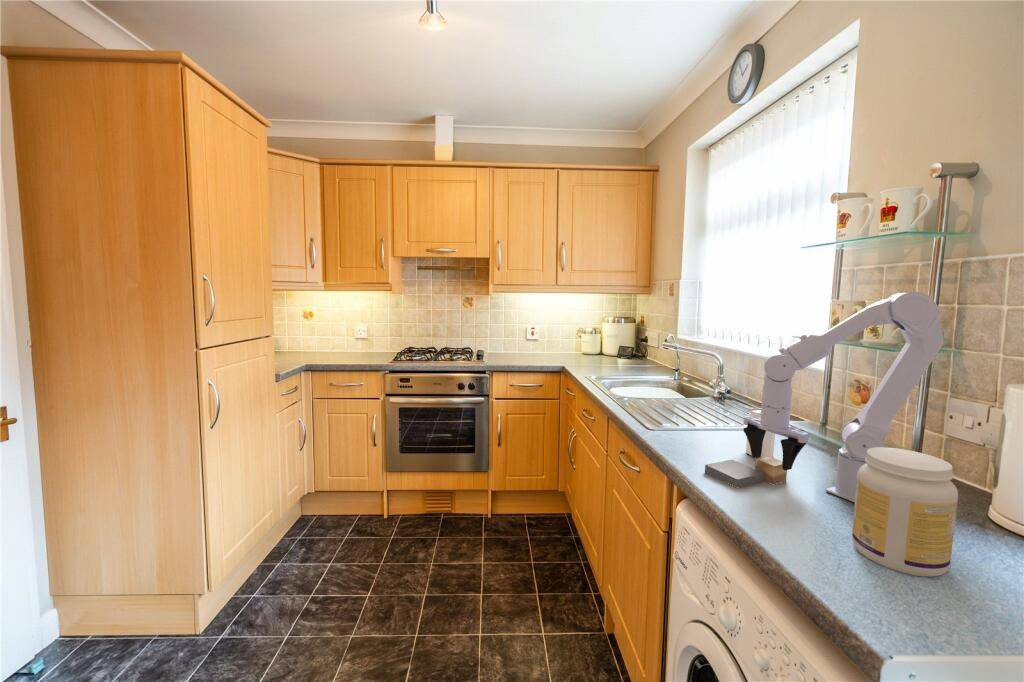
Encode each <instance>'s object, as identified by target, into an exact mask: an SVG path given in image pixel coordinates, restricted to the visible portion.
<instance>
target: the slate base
mask: <svg viewBox="0 0 1024 682" xmlns="http://www.w3.org/2000/svg"><path fill="white" fill-rule="evenodd" d="M704 473H705V474H706V473H707V474H706V475H708V474H709V476H711V477H712V478H715V479H717V478H718V479H717V480H719V479H720V480H719V481H721V480H722V481H721V482H723V481H724V482H723V483H725V482H726V483H725V484H727V483H729V484H728V485H730V484H731V485H730V486H732V485H733V486H732V487H734V486H735V487H734V488H736V487H739V488H742V487H743V486H744V487H747V485H748V486H752V485H756V483H757V484H761V483H766V482H765V475H766V473H764V472H761V471H759V470H756V468H755V467H751V466H749V465H746V464H744V463H742V462H739V461H737V460H734V459H729V460H723V461H717V462H713V463H707V464H705V465H704Z"/></svg>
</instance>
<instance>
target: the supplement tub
mask: <svg viewBox="0 0 1024 682" xmlns="http://www.w3.org/2000/svg"><path fill="white" fill-rule="evenodd" d="M865 462H866V463H867V464H865V465H863V466H861V467H860V469H859V470H858V474H857V486H856V497H855V503H854V510H853V511H854V513H853V520H852V521H853V522H852V533H851V537H852V538H851V539H852V543H853V545H854V546H855V548H856V550H858V551H859V553H861V554H862V556H864V557H866V558H867V559H869V560H871V561H872V562H874V563H876V564H878V565H881V566H883V567H885V568H888V569H891V570H894V571H896V572H899V573H902V574H907V575H912V576H915V577H916V576H917V577H928V578H929V577H938V576H942V575H945V574H946V573H947V572H948V571H949V568H950V566H951V563H952V562H951V560H952V559H951V558H952V551H953V543H954V535H955V534H954V533H955V528H956V526H955V525H956V516H957V509H958V500H959V491H958V489H957V487H956V486H955V484H954V482H952V481H951V480H953V479H954V474H953V471H954V470H953V468H954V467H953V465H952V464H951V463H950V462H948V461H946V460H945V459H944V460H943V459H941V458H939V457H937V456H933V455H931V454H926V453H923V452H918V451H914V450H909V449H903V448H897V447H896V448H895V447H887V446H884V447H875V448H870V449H868V450H867V454H866V457H865Z"/></svg>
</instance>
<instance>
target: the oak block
mask: <svg viewBox="0 0 1024 682" xmlns="http://www.w3.org/2000/svg"><path fill="white" fill-rule="evenodd" d="M782 461H783V460H780V459H777V458H775V457H770V456H769V457H764V458H755V469H756V470H759V471H761V472H764V473H766V475H765V481H766V482H765V483H768V484H770V483H771V485H772V484H774V485H776V483H778V484H781V482H782V483H786V482H787V476H788V474H787V473H788V470H783V468H782ZM785 481H786V482H785Z"/></svg>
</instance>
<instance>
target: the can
mask: <svg viewBox="0 0 1024 682" xmlns="http://www.w3.org/2000/svg"><path fill="white" fill-rule="evenodd" d="M748 416H751V417H755V418H760V419H761V408H751V409H750V413H748ZM775 438H776V434H775V433H772V432H769V431H766V433H765V436H764V439H763V444H762V453H761V457H758V458H757V459H759V458H764V457H769V456H770V457H772V458H774V452H775V442H776V441H775V440H776V439H775ZM745 446H746V447H745V452H746V453H748V454H749V456H750V455H751V456H750V457H752V453H751V448H750V444H749V441H748V438H747V437H746V444H745ZM748 454H747V455H748Z"/></svg>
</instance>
